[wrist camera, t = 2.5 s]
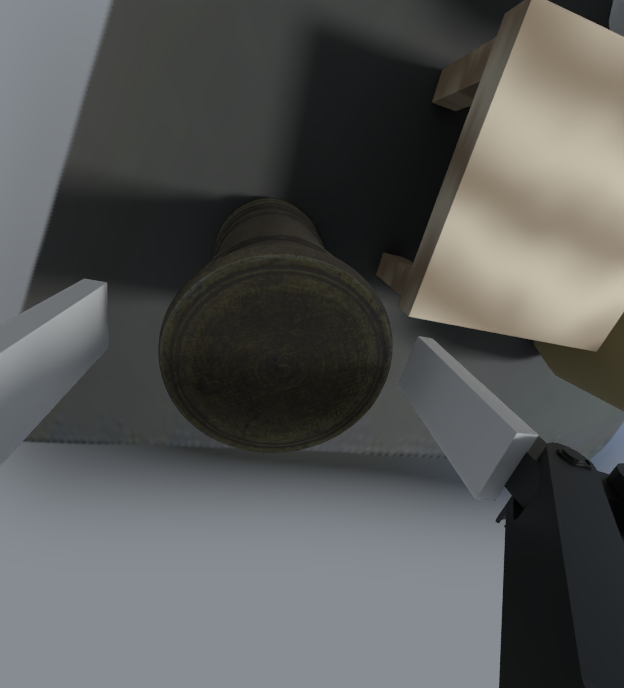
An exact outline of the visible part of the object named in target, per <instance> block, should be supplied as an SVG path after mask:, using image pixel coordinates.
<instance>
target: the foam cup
mask: <svg viewBox="0 0 624 688" xmlns="http://www.w3.org/2000/svg"><path fill="white" fill-rule="evenodd" d="M609 29H610V30H611V31H613V32H615V33H617V34H619V35H621V36H623V37H624V0H613V4H612V8H611V13H610V18H609Z"/></svg>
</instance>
